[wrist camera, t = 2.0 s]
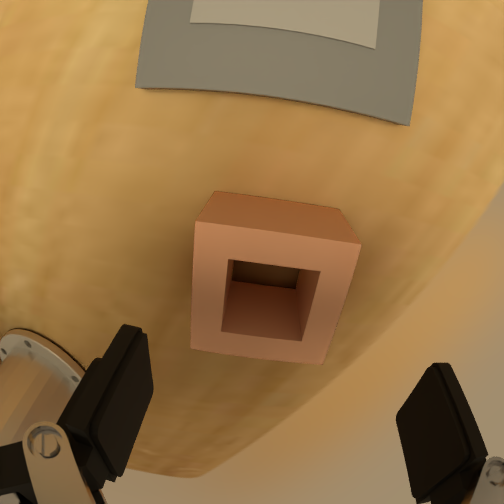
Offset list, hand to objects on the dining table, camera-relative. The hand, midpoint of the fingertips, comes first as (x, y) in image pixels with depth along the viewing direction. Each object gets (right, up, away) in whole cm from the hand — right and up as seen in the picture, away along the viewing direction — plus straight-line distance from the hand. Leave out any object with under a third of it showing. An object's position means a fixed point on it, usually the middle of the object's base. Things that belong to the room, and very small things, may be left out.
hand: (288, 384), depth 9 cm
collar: (0, +4, +9) cm, 10 cm away
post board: (+1, +19, +2) cm, 19 cm away
